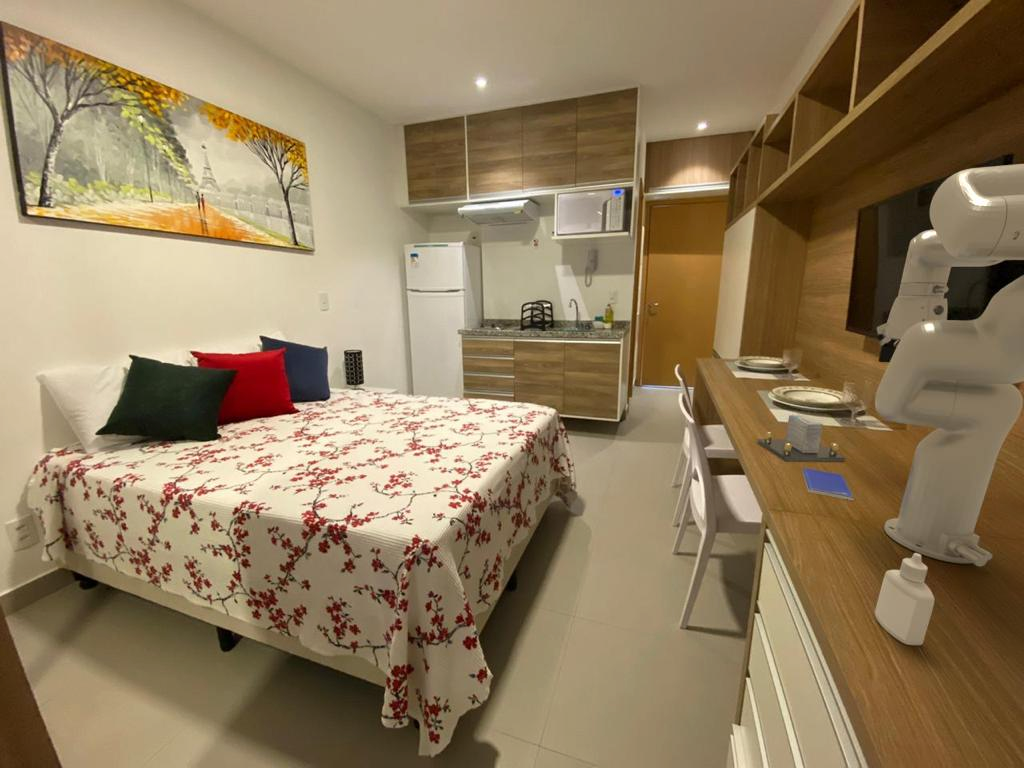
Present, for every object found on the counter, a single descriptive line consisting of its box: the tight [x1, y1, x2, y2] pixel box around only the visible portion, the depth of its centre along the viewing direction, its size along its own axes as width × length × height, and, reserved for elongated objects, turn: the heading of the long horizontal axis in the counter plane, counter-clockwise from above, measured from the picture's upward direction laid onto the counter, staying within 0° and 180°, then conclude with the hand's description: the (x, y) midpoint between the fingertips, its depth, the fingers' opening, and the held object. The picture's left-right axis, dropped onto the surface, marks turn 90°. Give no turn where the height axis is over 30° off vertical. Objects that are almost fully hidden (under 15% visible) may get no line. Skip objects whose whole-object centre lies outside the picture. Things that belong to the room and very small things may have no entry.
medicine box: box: [784, 414, 824, 453], centre depth 116 cm, size 8×4×9 cm, turn 0°
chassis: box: [756, 430, 846, 463], centre depth 117 cm, size 13×16×4 cm
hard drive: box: [802, 467, 855, 502], centre depth 99 cm, size 2×8×12 cm
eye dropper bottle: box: [874, 552, 935, 646], centre depth 56 cm, size 4×6×12 cm
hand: (904, 365), depth 98 cm, fingers open, 9 cm apart
